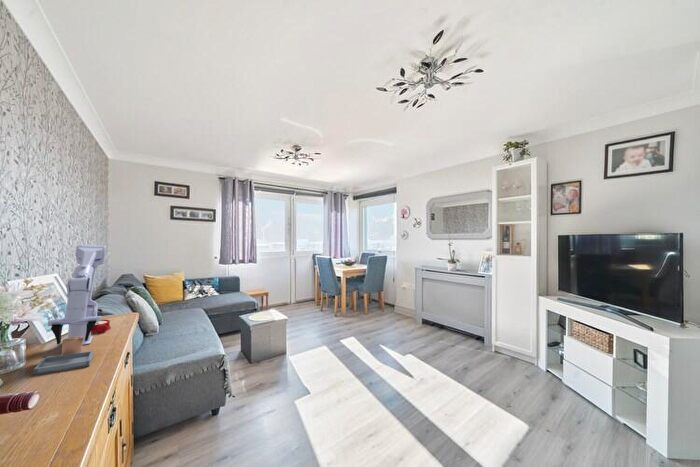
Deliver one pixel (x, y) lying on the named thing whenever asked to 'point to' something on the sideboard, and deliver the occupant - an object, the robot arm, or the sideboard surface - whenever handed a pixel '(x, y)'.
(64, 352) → the cup
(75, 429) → the sideboard surface
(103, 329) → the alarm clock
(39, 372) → the tray
